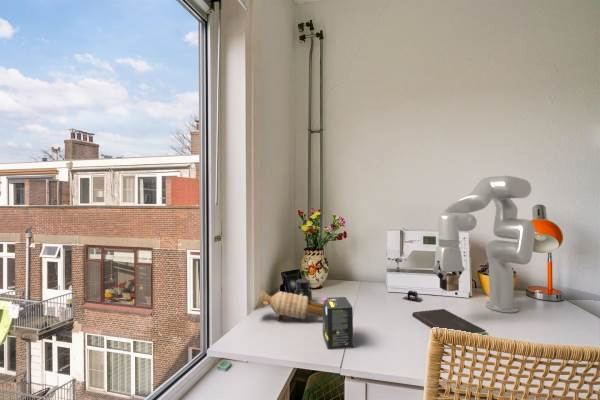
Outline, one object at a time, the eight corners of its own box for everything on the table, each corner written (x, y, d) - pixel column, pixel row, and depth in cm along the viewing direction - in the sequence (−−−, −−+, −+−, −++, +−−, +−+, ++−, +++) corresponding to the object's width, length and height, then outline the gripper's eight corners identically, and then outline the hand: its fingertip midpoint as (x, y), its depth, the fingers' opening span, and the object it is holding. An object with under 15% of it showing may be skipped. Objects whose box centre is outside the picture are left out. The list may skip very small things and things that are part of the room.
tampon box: (322, 335, 113) (321, 297, 113) (346, 334, 114) (345, 296, 114) (327, 349, 102) (326, 307, 102) (353, 348, 103) (353, 306, 103)
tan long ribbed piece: (324, 324, 132) (258, 311, 133) (329, 297, 132) (263, 284, 133) (325, 334, 122) (254, 320, 123) (331, 305, 122) (260, 291, 123)
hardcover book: (443, 313, 134) (443, 308, 134) (485, 336, 111) (485, 330, 111) (412, 317, 130) (412, 312, 130) (449, 341, 108) (449, 335, 108)
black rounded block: (427, 301, 151) (427, 292, 151) (422, 305, 145) (422, 295, 145) (403, 296, 159) (403, 287, 159) (398, 299, 153) (397, 291, 153)
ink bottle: (316, 304, 147) (315, 280, 147) (306, 309, 140) (306, 284, 140) (299, 300, 152) (299, 277, 152) (289, 306, 145) (289, 281, 145)
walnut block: (449, 287, 125) (449, 272, 125) (458, 290, 120) (458, 275, 120) (439, 288, 123) (439, 273, 123) (448, 291, 118) (448, 276, 118)
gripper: (458, 241, 127) (459, 283, 127) (424, 243, 123) (425, 287, 123) (473, 244, 120) (473, 288, 120) (437, 246, 116) (438, 292, 116)
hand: (449, 287), depth 121 cm, fingers closed on walnut block, 5 cm apart
